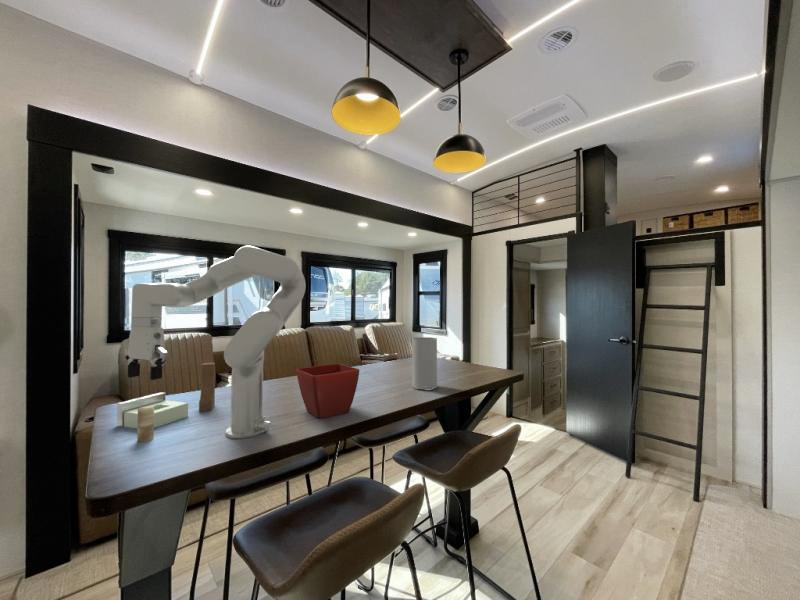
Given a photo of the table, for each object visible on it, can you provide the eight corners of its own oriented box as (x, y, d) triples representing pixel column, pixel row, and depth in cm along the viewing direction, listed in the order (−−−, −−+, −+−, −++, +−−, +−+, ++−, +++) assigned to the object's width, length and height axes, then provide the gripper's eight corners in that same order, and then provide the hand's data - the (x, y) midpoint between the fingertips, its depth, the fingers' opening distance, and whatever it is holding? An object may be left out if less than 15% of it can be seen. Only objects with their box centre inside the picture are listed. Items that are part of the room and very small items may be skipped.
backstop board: (165, 413, 126) (165, 392, 126) (122, 427, 112) (122, 403, 112) (160, 413, 127) (160, 392, 127) (117, 426, 113) (117, 403, 113)
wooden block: (211, 411, 129) (212, 365, 129) (198, 412, 127) (199, 366, 127) (214, 405, 137) (215, 362, 138) (202, 406, 135) (202, 363, 136)
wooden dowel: (156, 438, 102) (157, 406, 102) (143, 443, 98) (143, 410, 98) (147, 436, 103) (148, 405, 103) (133, 441, 99) (134, 409, 100)
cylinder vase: (438, 390, 159) (438, 339, 159) (413, 390, 159) (412, 339, 159) (435, 384, 171) (435, 337, 172) (411, 384, 171) (411, 337, 172)
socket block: (188, 416, 122) (188, 402, 122) (147, 430, 108) (148, 415, 109) (165, 413, 126) (165, 400, 126) (124, 426, 112) (124, 411, 112)
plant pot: (295, 410, 130) (295, 368, 130) (338, 401, 141) (338, 362, 141) (313, 423, 114) (313, 375, 115) (360, 413, 126) (360, 369, 126)
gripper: (178, 323, 103) (176, 377, 102) (139, 321, 108) (138, 373, 107) (154, 324, 95) (152, 382, 95) (114, 322, 101) (111, 378, 100)
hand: (144, 377), depth 101 cm, fingers open, 9 cm apart
